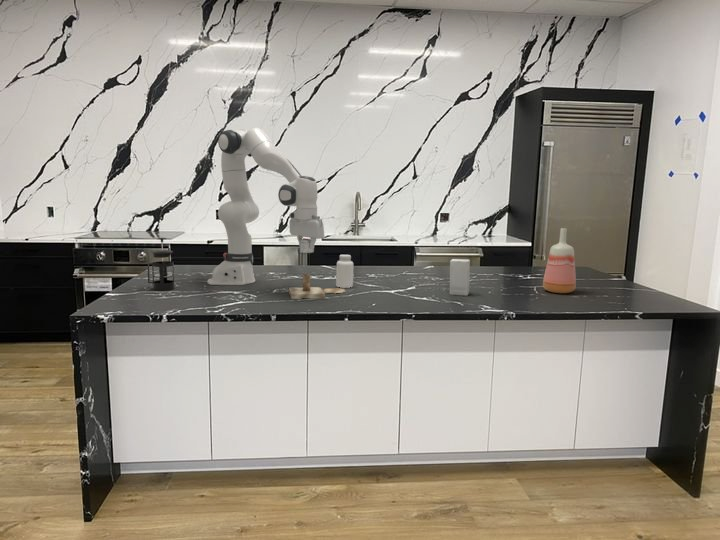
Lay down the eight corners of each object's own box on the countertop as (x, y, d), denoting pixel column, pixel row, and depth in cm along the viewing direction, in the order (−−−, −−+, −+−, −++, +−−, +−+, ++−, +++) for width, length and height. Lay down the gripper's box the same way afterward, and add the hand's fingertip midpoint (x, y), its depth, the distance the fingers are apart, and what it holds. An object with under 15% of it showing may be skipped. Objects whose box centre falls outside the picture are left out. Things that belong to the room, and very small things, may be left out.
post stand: (291, 298, 230) (291, 277, 229) (288, 292, 244) (288, 272, 242) (324, 298, 233) (324, 277, 232) (320, 291, 246) (320, 271, 245)
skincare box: (469, 293, 248) (471, 259, 246) (467, 296, 242) (469, 261, 240) (450, 292, 251) (452, 258, 249) (448, 294, 245) (449, 260, 242)
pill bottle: (351, 288, 254) (351, 256, 252) (334, 287, 256) (334, 255, 253) (354, 285, 262) (355, 254, 260) (338, 284, 263) (338, 253, 261)
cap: (297, 251, 235) (297, 238, 234) (307, 250, 239) (307, 237, 238) (306, 253, 232) (306, 239, 231) (316, 251, 236) (316, 238, 235)
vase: (561, 288, 265) (566, 226, 260) (582, 294, 252) (587, 229, 247) (535, 289, 260) (540, 227, 256) (555, 295, 247) (560, 229, 242)
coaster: (324, 294, 241) (324, 292, 241) (321, 289, 251) (321, 288, 250) (346, 293, 243) (346, 292, 243) (342, 289, 253) (342, 287, 253)
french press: (177, 286, 251) (176, 236, 248) (174, 290, 242) (173, 238, 238) (150, 287, 249) (148, 236, 245) (146, 291, 240) (144, 239, 236)
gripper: (327, 216, 227) (327, 249, 229) (298, 213, 242) (298, 244, 244) (315, 216, 223) (315, 250, 225) (286, 213, 238) (286, 245, 240)
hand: (306, 247), depth 235 cm, fingers closed on cap, 6 cm apart
